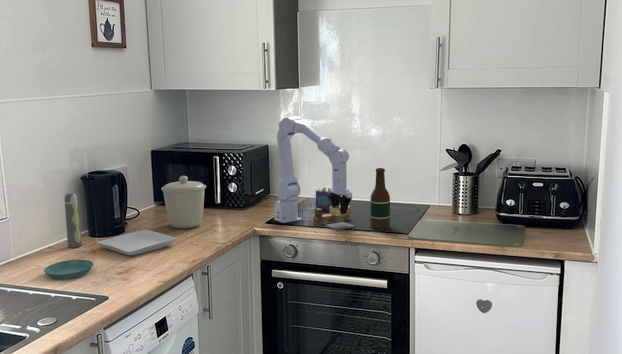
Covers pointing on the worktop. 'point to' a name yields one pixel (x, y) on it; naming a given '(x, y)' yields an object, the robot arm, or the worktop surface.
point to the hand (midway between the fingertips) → (339, 212)
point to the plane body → (327, 217)
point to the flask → (323, 200)
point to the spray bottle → (72, 221)
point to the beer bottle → (380, 203)
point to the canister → (184, 202)
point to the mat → (340, 225)
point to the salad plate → (137, 242)
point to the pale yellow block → (338, 210)
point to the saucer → (68, 269)
